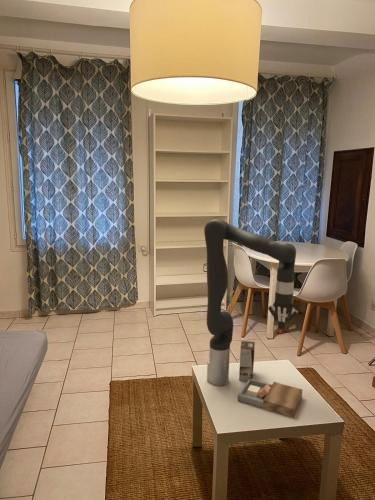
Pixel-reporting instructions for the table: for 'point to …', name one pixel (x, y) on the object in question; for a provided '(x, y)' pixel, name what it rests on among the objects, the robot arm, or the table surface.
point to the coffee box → (246, 360)
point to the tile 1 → (253, 390)
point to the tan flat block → (282, 399)
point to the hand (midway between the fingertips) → (281, 329)
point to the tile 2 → (264, 391)
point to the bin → (251, 399)
